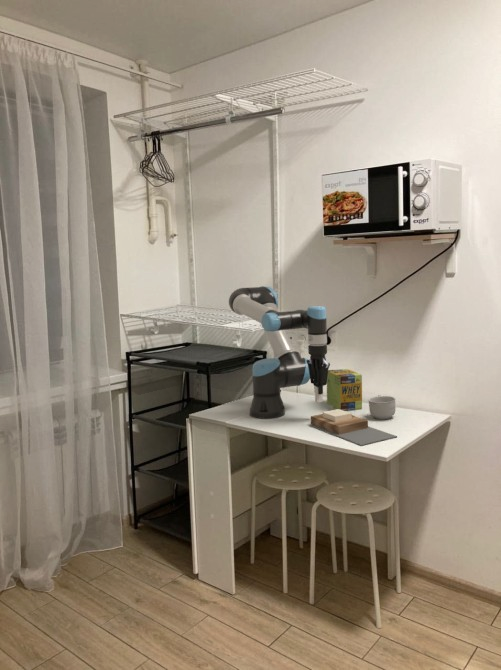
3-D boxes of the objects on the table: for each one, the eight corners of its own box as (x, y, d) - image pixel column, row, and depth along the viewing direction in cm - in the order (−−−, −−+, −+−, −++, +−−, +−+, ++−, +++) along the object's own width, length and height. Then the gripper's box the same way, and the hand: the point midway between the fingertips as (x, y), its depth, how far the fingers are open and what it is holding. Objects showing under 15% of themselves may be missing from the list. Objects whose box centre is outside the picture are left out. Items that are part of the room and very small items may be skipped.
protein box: (340, 411, 248) (340, 376, 246) (326, 403, 263) (325, 370, 261) (362, 409, 251) (362, 374, 249) (347, 401, 266) (347, 368, 264)
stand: (310, 423, 231) (310, 416, 230) (338, 417, 238) (338, 410, 237) (339, 434, 215) (339, 426, 215) (368, 427, 222) (367, 420, 222)
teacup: (395, 421, 231) (395, 402, 230) (367, 420, 234) (367, 401, 233) (396, 412, 244) (396, 394, 243) (370, 411, 247) (369, 393, 246)
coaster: (322, 417, 228) (322, 412, 228) (338, 413, 232) (338, 409, 232) (335, 421, 222) (335, 416, 221) (351, 418, 226) (351, 413, 225)
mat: (310, 426, 228) (310, 425, 228) (344, 419, 237) (344, 418, 237) (361, 446, 203) (361, 444, 203) (397, 437, 211) (397, 436, 211)
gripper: (300, 343, 237) (302, 400, 240) (319, 347, 226) (321, 406, 229) (315, 342, 241) (316, 397, 244) (335, 345, 230) (336, 403, 233)
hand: (318, 401), depth 237 cm, fingers closed
